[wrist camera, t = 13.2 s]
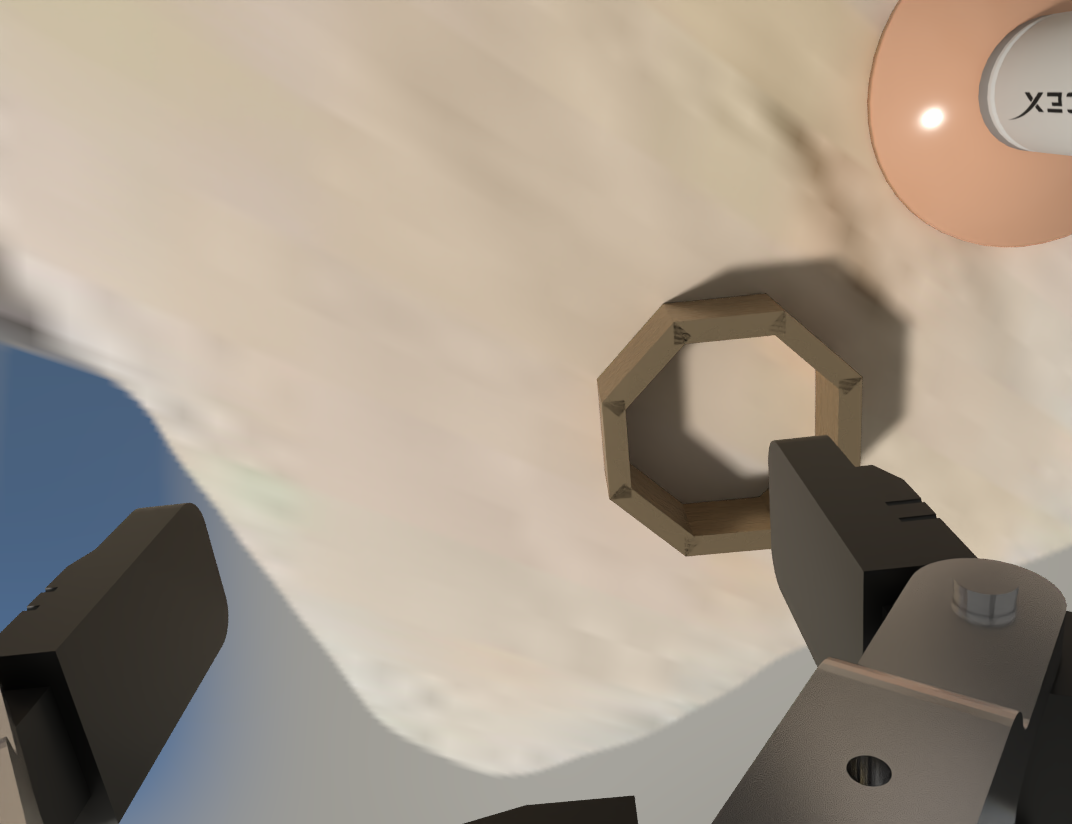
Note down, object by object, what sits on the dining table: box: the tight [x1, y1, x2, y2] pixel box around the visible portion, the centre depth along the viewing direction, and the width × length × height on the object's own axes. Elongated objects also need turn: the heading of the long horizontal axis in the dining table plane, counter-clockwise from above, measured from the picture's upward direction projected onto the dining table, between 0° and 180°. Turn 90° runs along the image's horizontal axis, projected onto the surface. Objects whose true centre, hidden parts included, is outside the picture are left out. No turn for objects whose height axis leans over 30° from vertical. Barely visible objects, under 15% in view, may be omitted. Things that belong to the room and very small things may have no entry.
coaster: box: [867, 0, 1072, 247], centre depth 43 cm, size 16×16×1 cm
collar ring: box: [597, 293, 863, 556], centre depth 48 cm, size 13×13×4 cm
